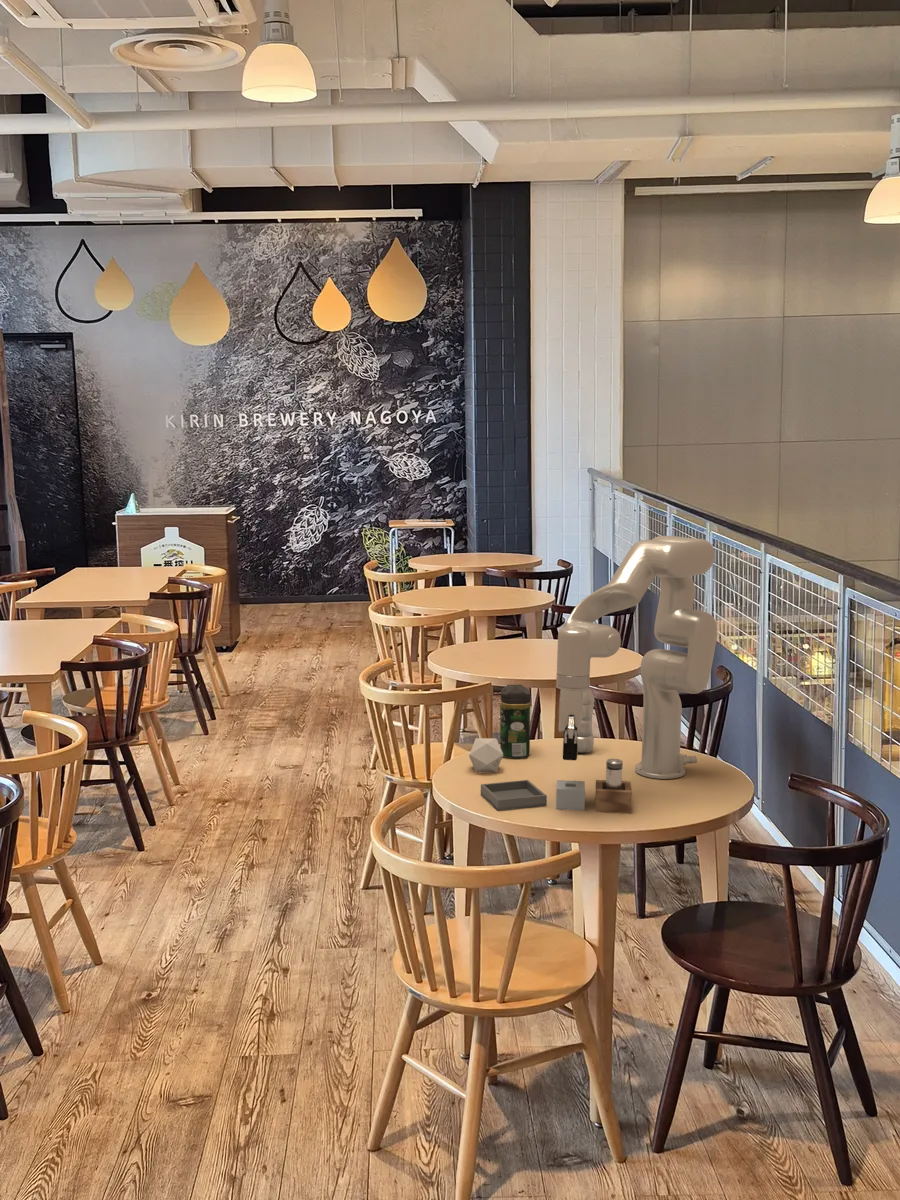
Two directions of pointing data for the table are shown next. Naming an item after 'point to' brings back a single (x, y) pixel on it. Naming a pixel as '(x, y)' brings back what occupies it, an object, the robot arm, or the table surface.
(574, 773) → the table surface
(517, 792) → the tray
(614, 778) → the spice jar
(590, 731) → the plastic bottle
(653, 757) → the robot arm
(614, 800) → the block
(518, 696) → the coffee jar
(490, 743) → the die
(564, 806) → the small block
